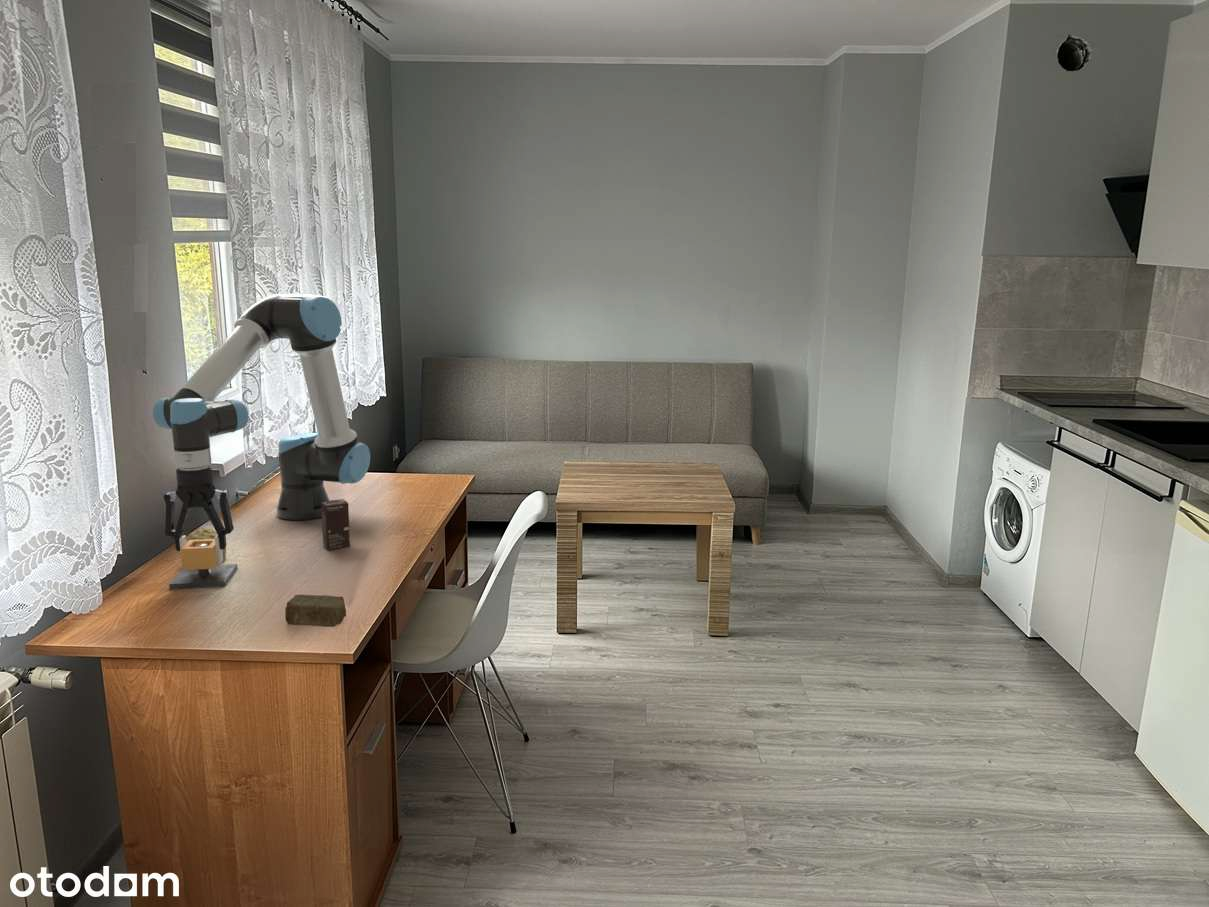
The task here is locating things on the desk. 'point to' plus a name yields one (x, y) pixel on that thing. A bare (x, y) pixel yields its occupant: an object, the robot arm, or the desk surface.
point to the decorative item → (205, 536)
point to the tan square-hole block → (199, 555)
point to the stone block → (315, 610)
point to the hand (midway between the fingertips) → (202, 562)
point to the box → (335, 524)
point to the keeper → (204, 576)
